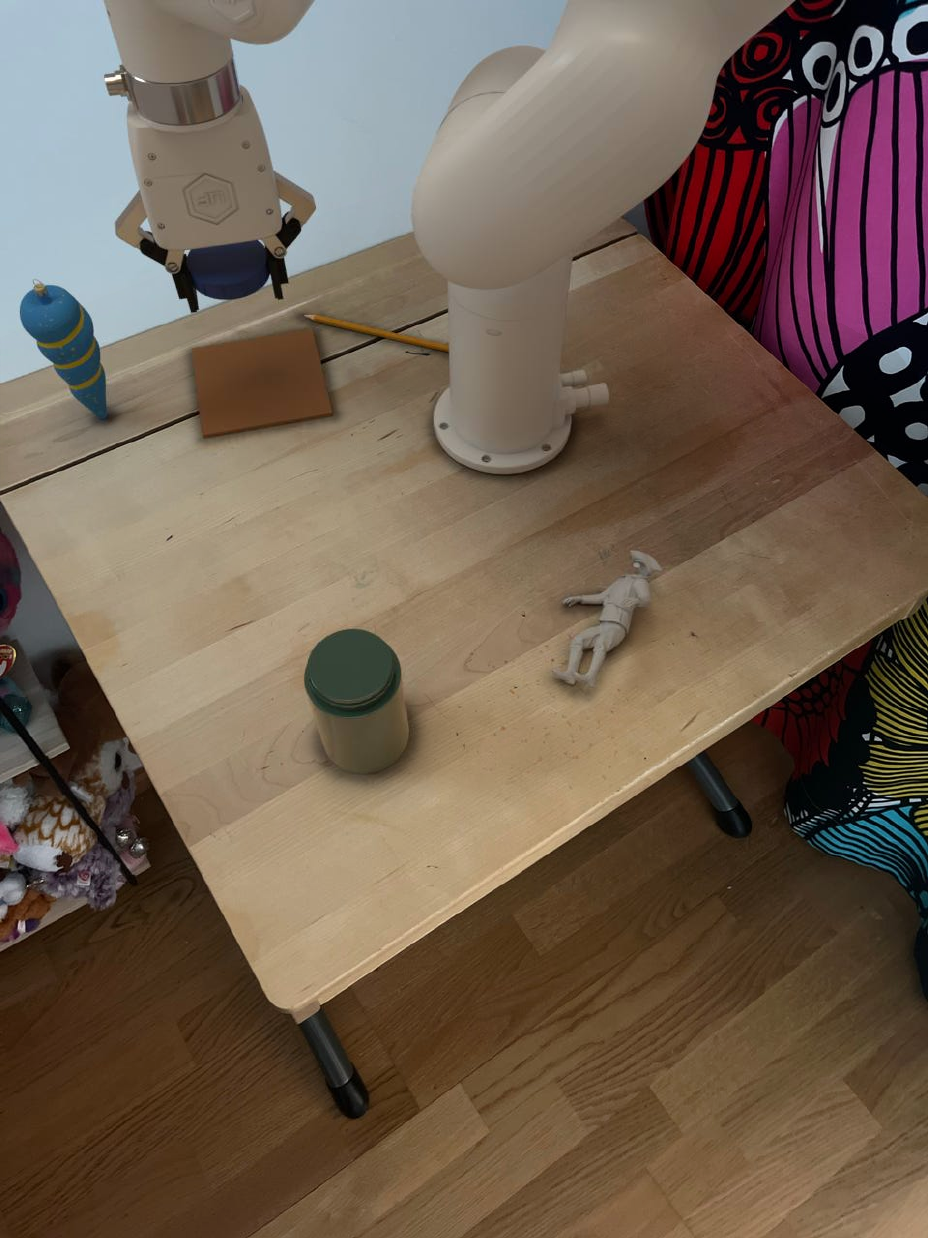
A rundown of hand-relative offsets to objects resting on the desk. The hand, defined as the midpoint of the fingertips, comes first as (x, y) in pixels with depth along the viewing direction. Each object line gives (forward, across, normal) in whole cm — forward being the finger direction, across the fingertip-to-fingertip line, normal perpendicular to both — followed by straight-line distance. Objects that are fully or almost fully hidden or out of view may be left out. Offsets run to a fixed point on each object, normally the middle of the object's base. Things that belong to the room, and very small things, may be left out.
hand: (235, 294), depth 79 cm
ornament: (+10, -15, -1) cm, 18 cm away
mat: (+10, 0, 0) cm, 10 cm away
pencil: (+10, +14, +3) cm, 17 cm away
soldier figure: (+10, +23, -35) cm, 43 cm away
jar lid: (-3, 0, 0) cm, 3 cm away
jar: (+10, +3, -39) cm, 40 cm away
